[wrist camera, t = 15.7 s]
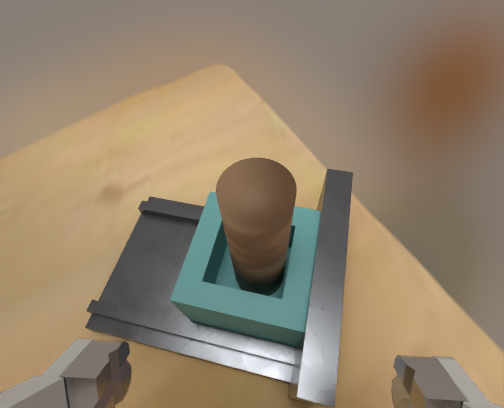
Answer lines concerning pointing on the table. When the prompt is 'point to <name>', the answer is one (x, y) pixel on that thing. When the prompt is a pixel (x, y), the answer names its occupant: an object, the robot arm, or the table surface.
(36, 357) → the table surface
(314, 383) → the track
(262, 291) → the dowel
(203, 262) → the socket block
